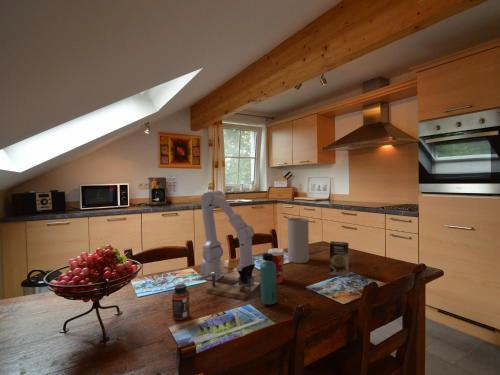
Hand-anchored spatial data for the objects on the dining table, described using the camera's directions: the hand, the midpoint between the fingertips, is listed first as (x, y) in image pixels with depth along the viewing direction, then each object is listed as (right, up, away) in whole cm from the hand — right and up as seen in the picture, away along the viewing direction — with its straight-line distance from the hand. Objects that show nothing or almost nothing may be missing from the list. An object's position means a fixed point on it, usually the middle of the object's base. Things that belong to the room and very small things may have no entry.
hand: (246, 281), depth 120 cm
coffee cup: (+15, -2, +5) cm, 16 cm away
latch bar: (-17, +4, -7) cm, 19 cm away
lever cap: (0, -2, 0) cm, 2 cm away
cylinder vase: (+31, -1, +36) cm, 48 cm away
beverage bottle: (+9, -3, -18) cm, 21 cm away
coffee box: (+48, -1, +13) cm, 50 cm away
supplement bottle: (-23, -3, -27) cm, 36 cm away
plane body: (-8, -2, -7) cm, 11 cm away
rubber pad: (0, -2, 0) cm, 2 cm away
